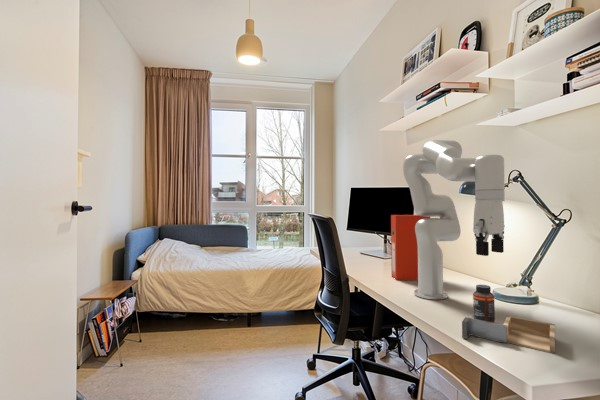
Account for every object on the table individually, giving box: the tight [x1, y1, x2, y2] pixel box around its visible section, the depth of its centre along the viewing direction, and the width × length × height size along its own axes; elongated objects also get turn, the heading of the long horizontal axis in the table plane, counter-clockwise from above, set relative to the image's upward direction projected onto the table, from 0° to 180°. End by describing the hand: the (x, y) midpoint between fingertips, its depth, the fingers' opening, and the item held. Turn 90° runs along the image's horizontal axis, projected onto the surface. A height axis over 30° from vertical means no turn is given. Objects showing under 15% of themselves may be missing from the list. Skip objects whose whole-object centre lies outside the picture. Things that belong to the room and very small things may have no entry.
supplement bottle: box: [472, 284, 496, 323], centre depth 99 cm, size 6×6×11 cm
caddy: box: [502, 315, 556, 354], centre depth 86 cm, size 11×11×4 cm
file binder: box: [390, 214, 431, 281], centre depth 158 cm, size 8×17×32 cm, turn 90°
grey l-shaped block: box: [461, 316, 508, 344], centre depth 85 cm, size 4×10×4 cm, turn 51°
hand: (490, 253), depth 93 cm, fingers open, 9 cm apart
